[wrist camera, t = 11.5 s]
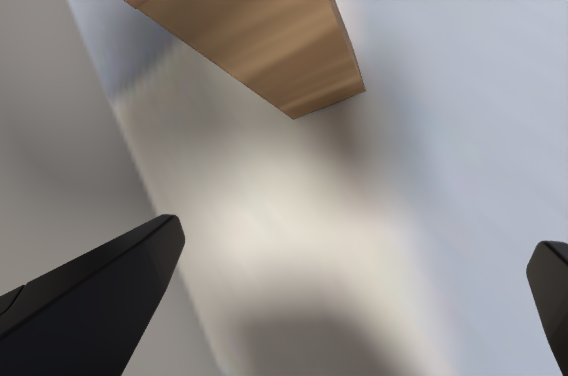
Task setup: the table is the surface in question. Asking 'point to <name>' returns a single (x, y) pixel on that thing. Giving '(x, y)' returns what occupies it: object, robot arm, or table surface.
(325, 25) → the panel
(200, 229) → the table surface
